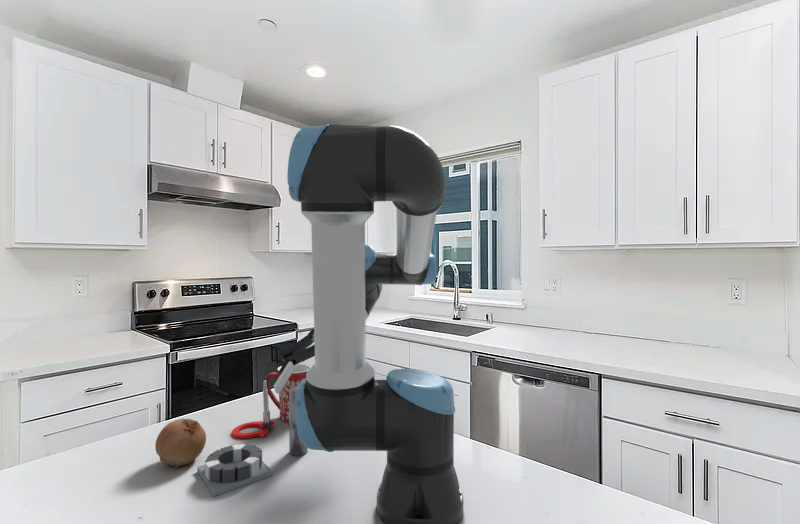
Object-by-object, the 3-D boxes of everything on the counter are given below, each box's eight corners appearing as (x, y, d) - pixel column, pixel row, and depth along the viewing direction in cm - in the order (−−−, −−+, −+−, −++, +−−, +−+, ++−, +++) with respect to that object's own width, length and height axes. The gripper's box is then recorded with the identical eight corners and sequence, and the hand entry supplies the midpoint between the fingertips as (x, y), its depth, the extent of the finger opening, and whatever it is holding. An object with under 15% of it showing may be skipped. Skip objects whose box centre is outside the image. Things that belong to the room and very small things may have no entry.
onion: (200, 473, 88) (222, 432, 88) (156, 481, 80) (179, 436, 80) (182, 445, 93) (202, 406, 93) (140, 450, 86) (161, 407, 86)
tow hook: (225, 440, 98) (263, 440, 97) (223, 387, 98) (261, 386, 97) (241, 426, 106) (276, 425, 106) (239, 376, 106) (274, 375, 106)
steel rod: (310, 452, 91) (311, 390, 91) (294, 458, 89) (294, 394, 88) (302, 446, 94) (302, 385, 94) (286, 451, 92) (286, 389, 91)
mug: (316, 412, 115) (316, 364, 114) (303, 425, 106) (303, 373, 105) (274, 408, 117) (274, 361, 116) (258, 421, 108) (258, 370, 108)
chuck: (272, 475, 82) (272, 458, 82) (213, 496, 75) (213, 477, 74) (251, 454, 90) (251, 438, 90) (197, 471, 83) (197, 454, 83)
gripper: (395, 347, 100) (360, 427, 85) (304, 320, 106) (257, 391, 91) (395, 328, 95) (358, 409, 80) (299, 301, 101) (248, 372, 86)
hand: (304, 400), depth 85 cm, fingers open, 13 cm apart
